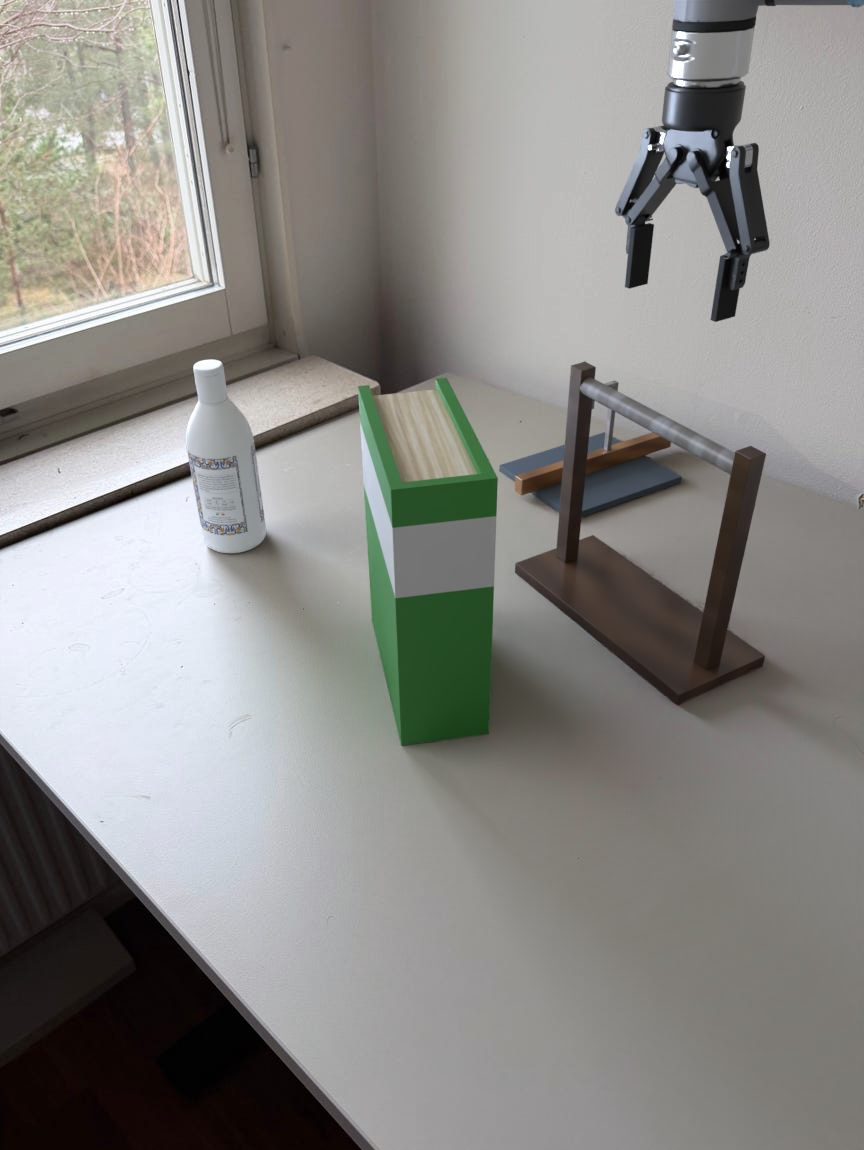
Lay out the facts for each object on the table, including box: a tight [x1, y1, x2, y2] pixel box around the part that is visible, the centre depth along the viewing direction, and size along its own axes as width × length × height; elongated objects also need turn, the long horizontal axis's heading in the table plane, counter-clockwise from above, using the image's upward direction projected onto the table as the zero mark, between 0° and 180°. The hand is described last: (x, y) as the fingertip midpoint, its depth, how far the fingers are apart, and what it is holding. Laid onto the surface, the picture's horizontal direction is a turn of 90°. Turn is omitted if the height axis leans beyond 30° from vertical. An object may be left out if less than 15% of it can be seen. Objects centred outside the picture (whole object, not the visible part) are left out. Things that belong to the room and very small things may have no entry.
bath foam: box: [185, 359, 267, 554], centre depth 101 cm, size 7×7×20 cm
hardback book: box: [357, 377, 499, 746], centre depth 80 cm, size 18×7×24 cm, turn 9°
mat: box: [498, 431, 683, 518], centre depth 115 cm, size 16×14×1 cm
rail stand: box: [514, 361, 767, 706], centre depth 86 cm, size 10×24×22 cm, turn 29°
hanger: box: [514, 380, 672, 496], centre depth 111 cm, size 22×1×10 cm, turn 119°
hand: (677, 301), depth 106 cm, fingers open, 13 cm apart
